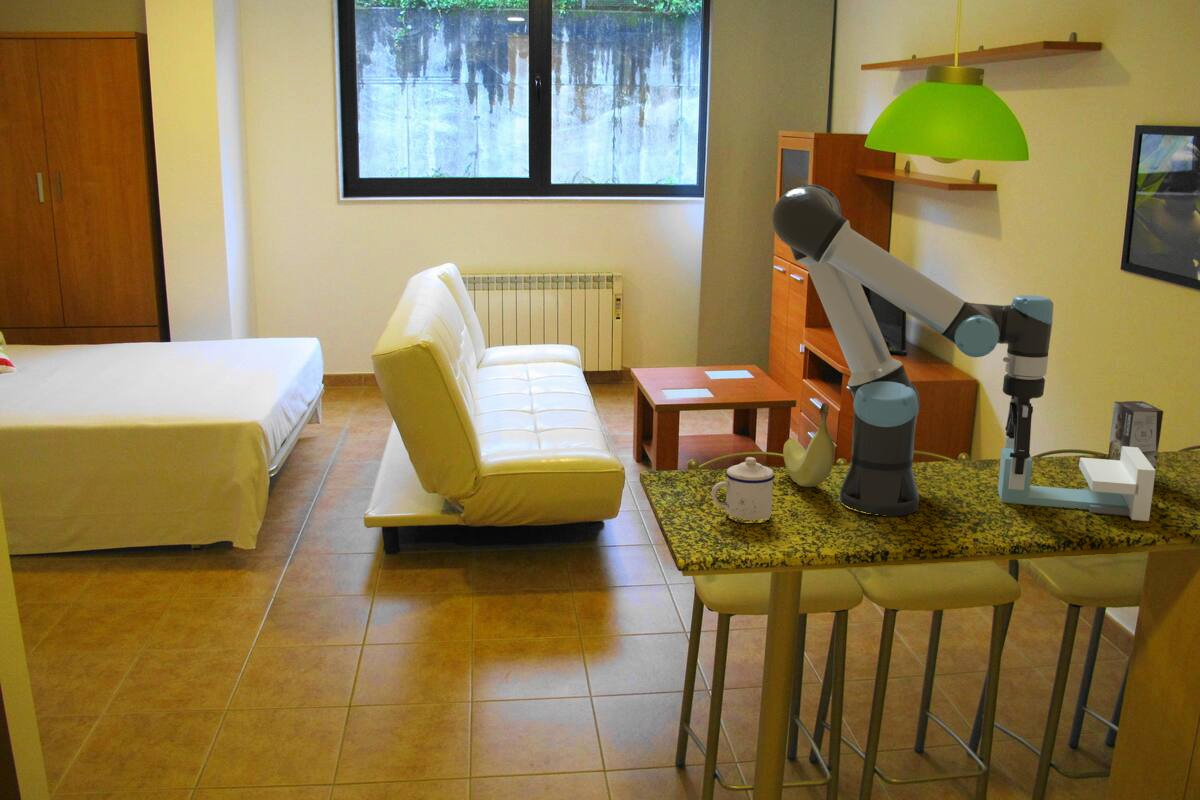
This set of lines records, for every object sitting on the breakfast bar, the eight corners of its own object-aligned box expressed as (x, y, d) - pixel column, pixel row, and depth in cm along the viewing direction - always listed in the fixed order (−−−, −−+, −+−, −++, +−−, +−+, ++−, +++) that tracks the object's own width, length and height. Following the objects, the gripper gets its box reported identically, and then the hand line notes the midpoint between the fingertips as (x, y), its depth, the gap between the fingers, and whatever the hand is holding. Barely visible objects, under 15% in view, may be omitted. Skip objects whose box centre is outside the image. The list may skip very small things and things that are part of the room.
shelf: (1088, 515, 208) (1094, 465, 206) (1076, 490, 223) (1081, 443, 221) (1148, 521, 206) (1155, 470, 203) (1132, 494, 221) (1138, 447, 218)
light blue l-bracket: (1001, 502, 216) (1005, 458, 214) (997, 489, 224) (1001, 447, 221) (1127, 513, 210) (1132, 468, 208) (1119, 500, 218) (1124, 456, 216)
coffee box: (1155, 486, 226) (1165, 411, 222) (1123, 486, 226) (1133, 410, 222) (1134, 472, 235) (1144, 400, 231) (1104, 472, 235) (1113, 400, 231)
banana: (775, 469, 236) (779, 379, 231) (800, 468, 237) (805, 378, 232) (808, 503, 214) (814, 405, 210) (837, 502, 215) (843, 404, 210)
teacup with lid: (762, 507, 212) (764, 450, 210) (780, 523, 204) (782, 463, 201) (703, 511, 210) (705, 453, 207) (719, 528, 201) (721, 467, 198)
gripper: (999, 361, 226) (988, 459, 231) (1010, 387, 202) (998, 496, 208) (1037, 363, 224) (1025, 462, 229) (1053, 390, 201) (1040, 500, 206)
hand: (1012, 478), depth 218 cm, fingers open, 13 cm apart
